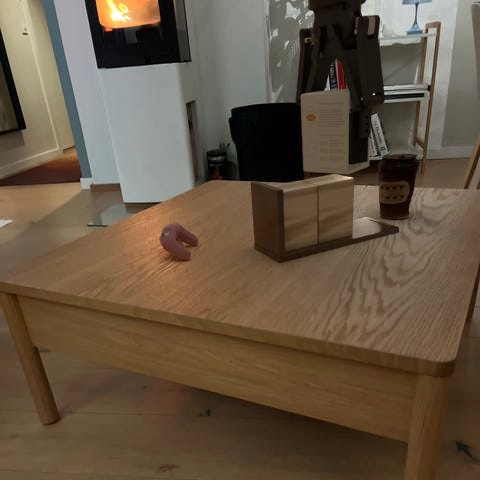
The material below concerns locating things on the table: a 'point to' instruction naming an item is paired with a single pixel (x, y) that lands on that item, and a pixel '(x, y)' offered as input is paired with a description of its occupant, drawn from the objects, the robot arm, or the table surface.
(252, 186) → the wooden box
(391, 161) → the coffee cup
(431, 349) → the table surface
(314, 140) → the small box
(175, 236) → the pink curved tube
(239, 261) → the table surface
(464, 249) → the table surface
